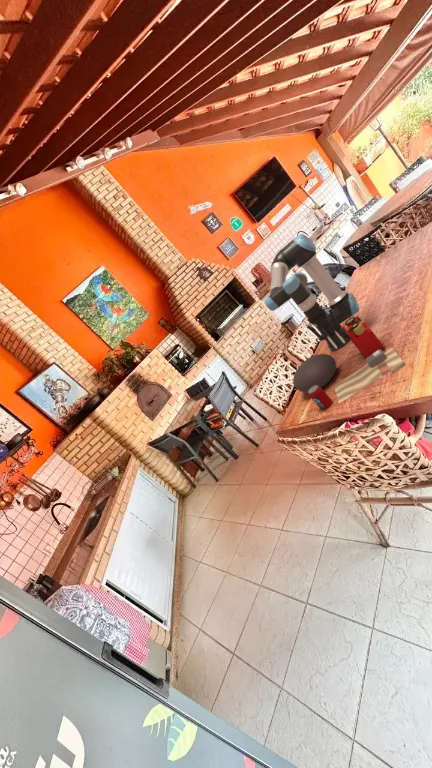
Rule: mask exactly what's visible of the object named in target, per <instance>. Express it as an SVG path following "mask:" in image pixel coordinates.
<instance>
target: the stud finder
mask: <svg viewBox="0 0 432 768" xmlns="http://www.w3.org/2000/svg"><path fill="white" fill-rule="evenodd" d="M384 353H385V352H384V351H383V349H380V350H378V351H376V352H375V353H373V354H372V355H371V356H369V357H367V358H366V359H365V362H366V363H367V364H369V366H370V367H371V368H373V367H375V366H376V365H378V364H380V363H381V362H383V361H384V360H386V359H387V357H386V355H385V354H384Z"/></svg>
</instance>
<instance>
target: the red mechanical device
mask: <svg viewBox="0 0 432 768" xmlns="http://www.w3.org/2000/svg"><path fill="white" fill-rule="evenodd" d="M342 327H343V329H344V330H345V332H346V334H347V336H348V338H350V341H351V342H352V344H353V345H354V346H355V347H356V348H357V349H358V351H359V352H360V353H361V355H362V357H364V359H365V360H366V358H367V357H369V356H371V355H372V354H373V353H375V352H376V351H378V350H380V349H381V350H383V349H384V348H385V346H384V345H383V343H382V341H381V340H380V339H379V338H378V337H377V336H376V334H375V333H374V331H373V330H372V329H371V328H370V326H369V325H368V324H367V323H366V322H365V321H363V320H362V319H361V317H360V316H358V315H357V316H356V317H355V316H352V317H350V318H348V319H347V320H345V321H344V325H342Z"/></svg>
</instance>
